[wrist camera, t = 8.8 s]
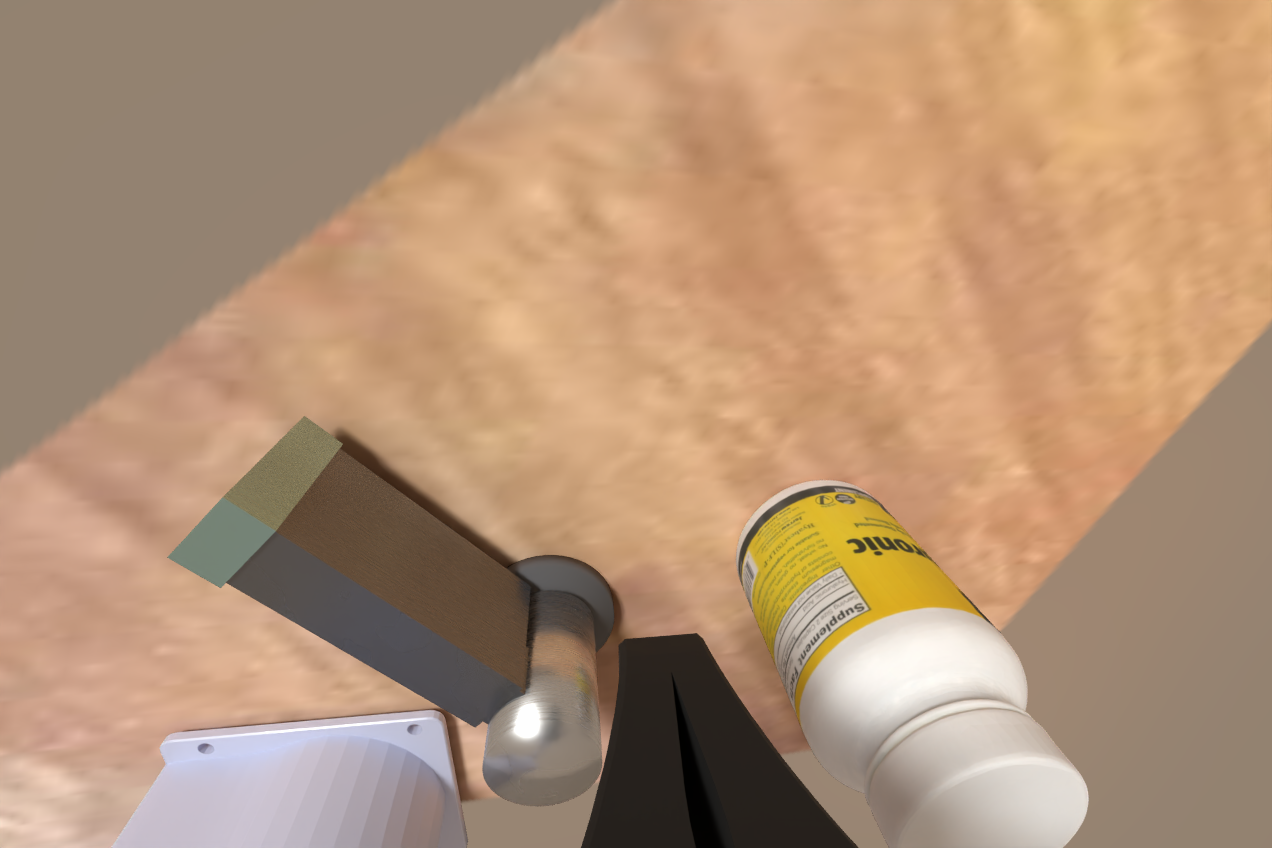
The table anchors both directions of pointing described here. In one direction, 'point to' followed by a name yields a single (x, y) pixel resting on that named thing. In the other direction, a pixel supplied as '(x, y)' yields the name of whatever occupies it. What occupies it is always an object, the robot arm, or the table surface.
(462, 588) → the swing bar
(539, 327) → the table surface
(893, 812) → the supplement bottle
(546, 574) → the pivot base
